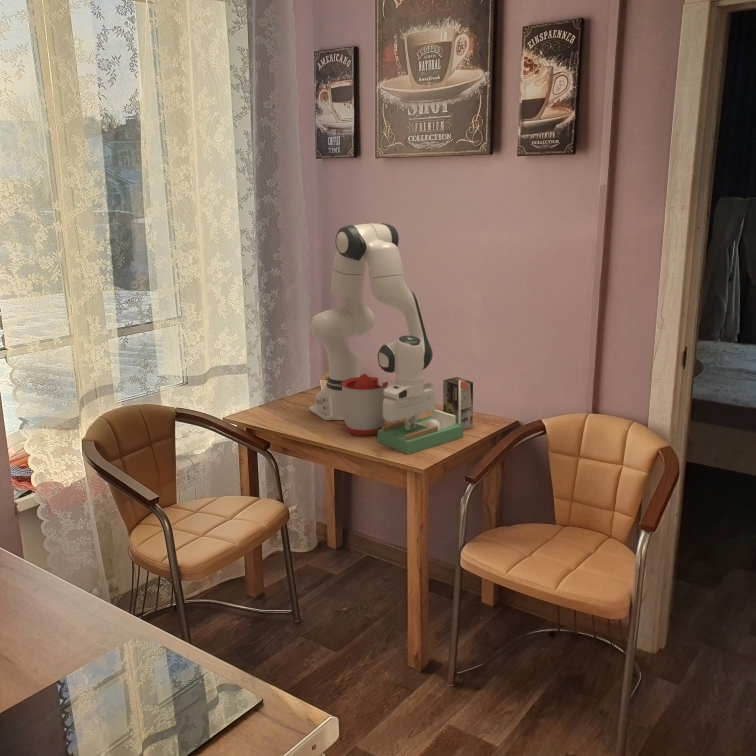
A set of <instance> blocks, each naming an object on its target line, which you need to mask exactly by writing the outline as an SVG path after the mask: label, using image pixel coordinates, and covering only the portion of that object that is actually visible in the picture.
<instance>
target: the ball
mask: <svg viewBox="0 0 756 756" xmlns="http://www.w3.org/2000/svg"><path fill="white" fill-rule="evenodd" d="M434 426H437V427H438V430H439V429H440V428H441V426H440V423H439V422H438V421H437V420H435V419H431V420H429V421H428V422H427V423H426V427H428V428H431V427H434Z"/></svg>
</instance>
